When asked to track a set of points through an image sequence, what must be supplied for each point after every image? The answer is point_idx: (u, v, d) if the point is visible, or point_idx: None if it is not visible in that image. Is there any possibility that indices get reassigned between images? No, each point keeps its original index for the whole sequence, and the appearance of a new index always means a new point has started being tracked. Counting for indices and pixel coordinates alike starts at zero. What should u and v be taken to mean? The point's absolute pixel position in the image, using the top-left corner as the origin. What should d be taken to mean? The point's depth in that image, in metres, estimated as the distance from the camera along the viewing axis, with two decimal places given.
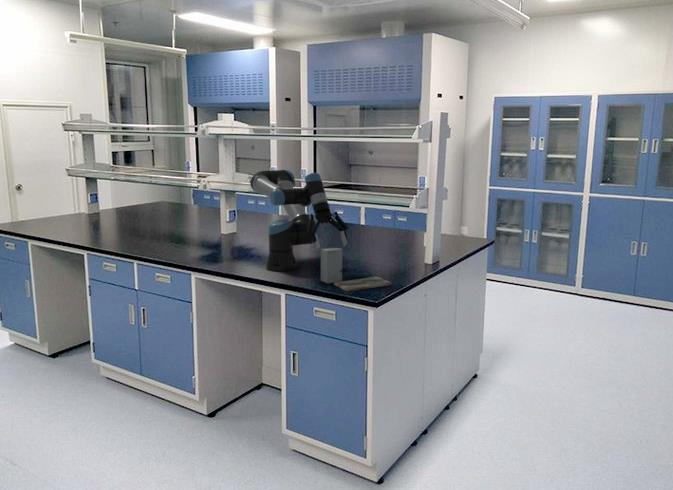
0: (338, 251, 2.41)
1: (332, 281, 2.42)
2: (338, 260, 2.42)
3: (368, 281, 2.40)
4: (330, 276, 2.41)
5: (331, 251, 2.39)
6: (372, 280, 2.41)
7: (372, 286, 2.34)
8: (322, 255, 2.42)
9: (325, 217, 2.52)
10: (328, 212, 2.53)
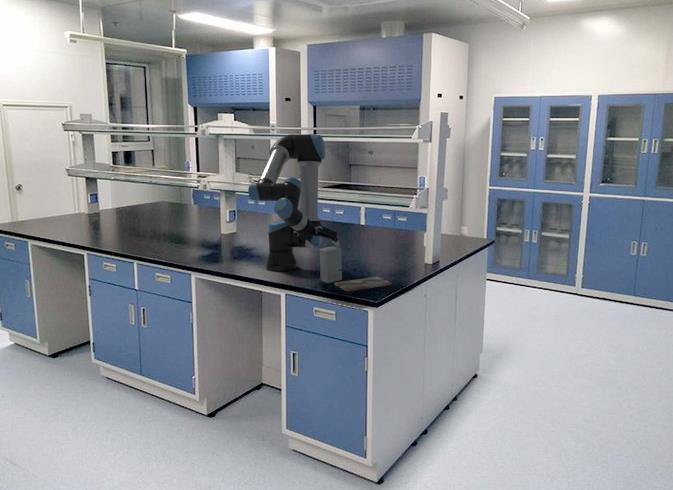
0: (337, 251, 2.40)
1: (332, 280, 2.42)
2: (337, 260, 2.41)
3: (368, 281, 2.40)
4: (330, 276, 2.41)
5: (330, 251, 2.38)
6: (372, 280, 2.41)
7: (372, 286, 2.34)
8: (321, 255, 2.40)
9: None
10: (311, 230, 2.36)
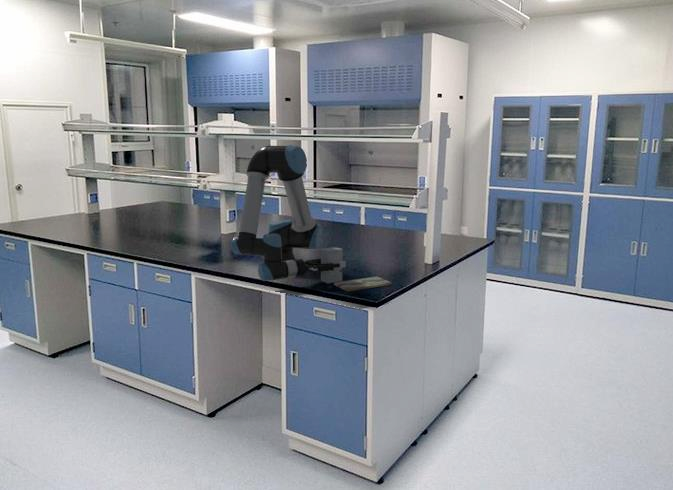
0: (338, 251, 2.41)
1: (332, 281, 2.42)
2: (338, 260, 2.42)
3: (368, 281, 2.40)
4: (331, 276, 2.41)
5: (331, 251, 2.39)
6: (372, 280, 2.41)
7: (372, 286, 2.34)
8: (322, 255, 2.41)
9: None
10: None
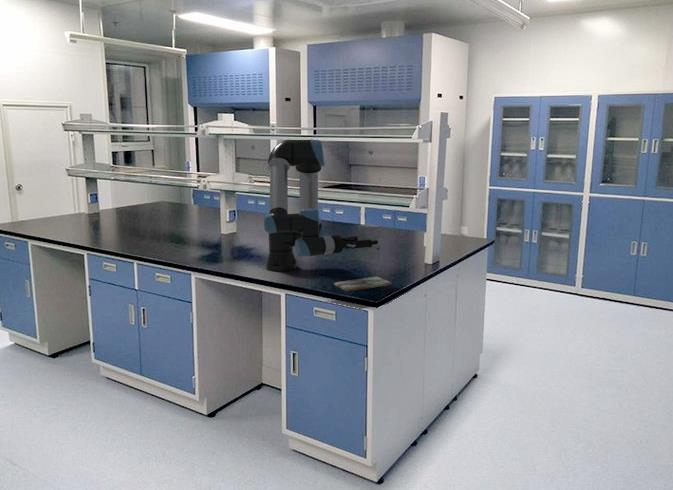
0: (376, 228, 2.34)
1: (369, 258, 2.35)
2: (376, 238, 2.35)
3: (368, 281, 2.40)
4: (368, 254, 2.34)
5: (369, 228, 2.32)
6: (372, 280, 2.41)
7: (372, 286, 2.34)
8: (359, 232, 2.35)
9: None
10: (344, 247, 2.28)
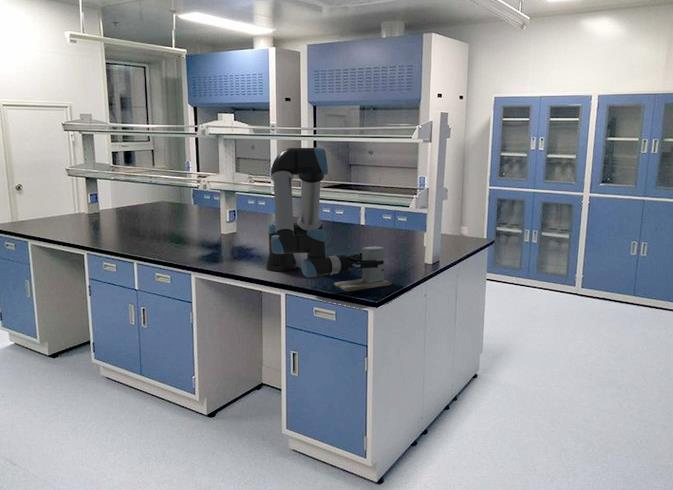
0: (380, 250, 2.37)
1: (374, 280, 2.38)
2: None
3: None
4: (372, 275, 2.37)
5: (373, 250, 2.35)
6: None
7: (372, 286, 2.34)
8: (364, 254, 2.38)
9: None
10: None
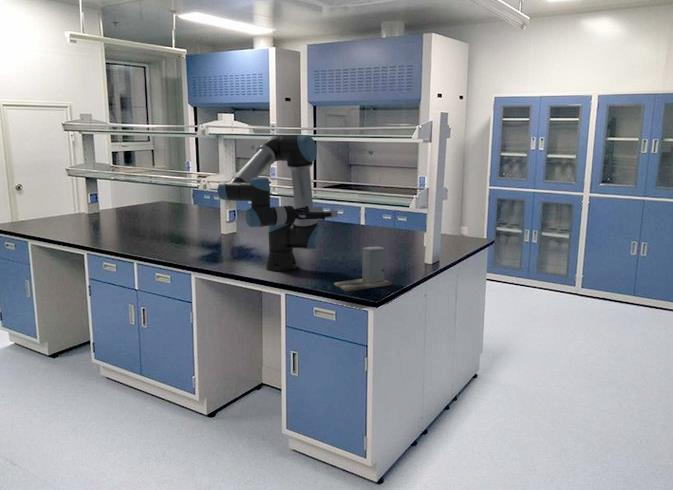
0: (380, 250, 2.37)
1: (374, 280, 2.38)
2: (380, 260, 2.38)
3: None
4: (372, 275, 2.37)
5: (374, 250, 2.35)
6: None
7: (372, 286, 2.34)
8: (364, 254, 2.38)
9: None
10: (297, 217, 2.24)
